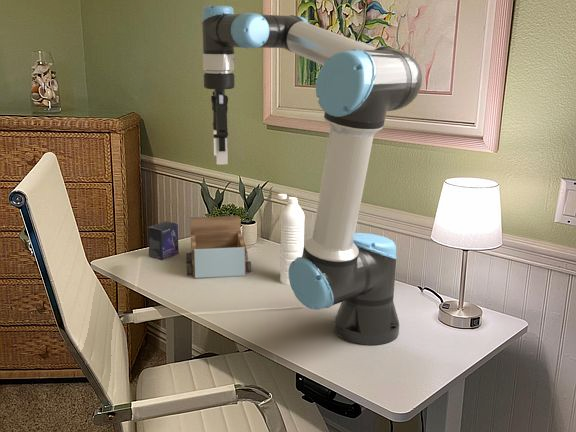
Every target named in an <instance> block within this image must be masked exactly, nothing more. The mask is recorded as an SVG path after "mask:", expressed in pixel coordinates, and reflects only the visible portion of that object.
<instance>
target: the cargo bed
mask: <svg viewBox="0 0 576 432" xmlns="http://www.w3.org/2000/svg"><path fill="white" fill-rule="evenodd" d="M241 220H242V219H241V216H240V215H232V216H202V217H201V216H200V217H190V218H189V222H190V247H191V248H190V250H191V252H186V253H185V255H186V257H185V259H186V275H187V276H192V277H193V278H194V276H195V257H194V249H213V248H236V247H244V248H245V274H246V275H247V273H252V262H251V261H249V258H248V257H249V256H248V250H247V246H246V243H245V240H244V237H243V234H242V228H241V227H242V225H241V224H242V223H241Z"/></svg>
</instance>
